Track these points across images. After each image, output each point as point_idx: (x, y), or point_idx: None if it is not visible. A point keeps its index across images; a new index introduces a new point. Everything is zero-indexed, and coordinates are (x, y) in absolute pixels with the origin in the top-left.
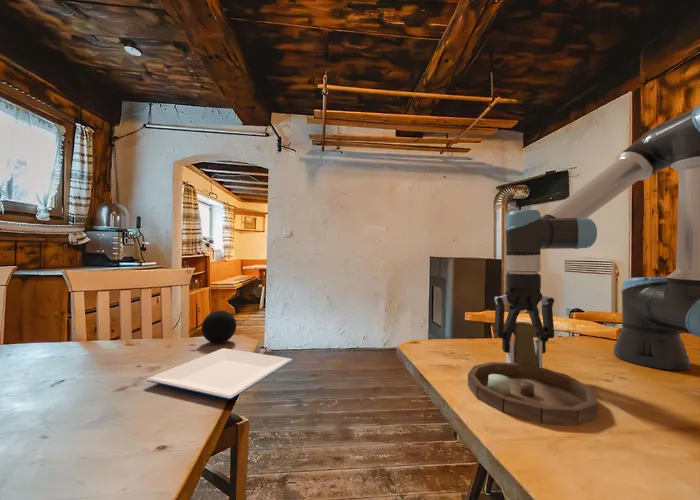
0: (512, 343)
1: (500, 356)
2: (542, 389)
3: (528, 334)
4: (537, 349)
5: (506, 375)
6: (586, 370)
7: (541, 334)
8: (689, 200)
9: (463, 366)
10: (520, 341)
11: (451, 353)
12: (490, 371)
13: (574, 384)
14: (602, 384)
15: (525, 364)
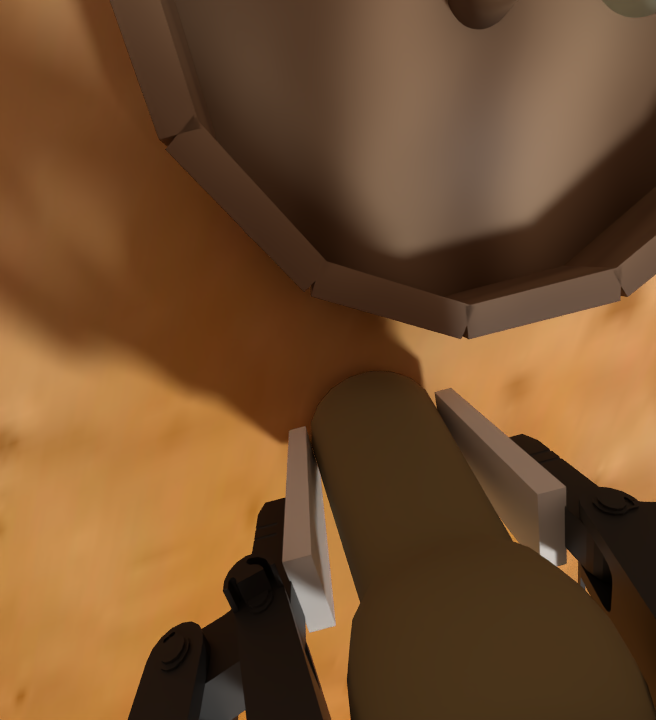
0: (534, 473)
1: None
2: (367, 106)
3: (457, 559)
4: (314, 510)
5: (503, 272)
6: (76, 535)
7: (283, 638)
8: None
9: (644, 382)
10: (480, 501)
11: None
12: (613, 239)
13: (179, 53)
14: (31, 382)
15: (391, 390)
